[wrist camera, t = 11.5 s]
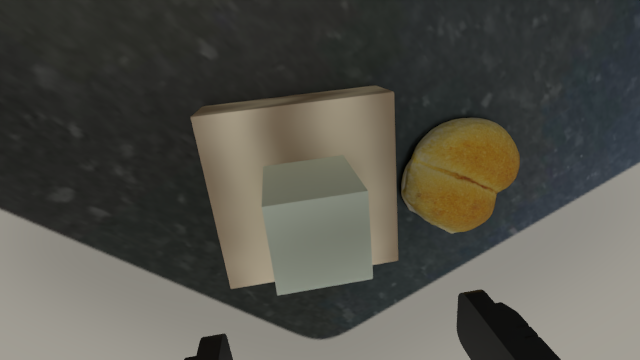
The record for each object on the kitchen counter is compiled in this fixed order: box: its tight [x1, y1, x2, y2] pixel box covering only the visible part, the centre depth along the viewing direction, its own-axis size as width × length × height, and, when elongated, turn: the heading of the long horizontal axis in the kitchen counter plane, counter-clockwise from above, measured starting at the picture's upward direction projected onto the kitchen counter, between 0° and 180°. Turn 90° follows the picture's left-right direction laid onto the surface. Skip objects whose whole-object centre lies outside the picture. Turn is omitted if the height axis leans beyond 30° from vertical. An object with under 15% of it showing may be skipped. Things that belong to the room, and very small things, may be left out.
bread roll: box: [401, 118, 520, 234], centre depth 26 cm, size 8×9×4 cm
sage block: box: [262, 155, 373, 295], centre depth 20 cm, size 5×5×6 cm
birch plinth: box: [191, 85, 398, 289], centre depth 25 cm, size 12×12×4 cm
